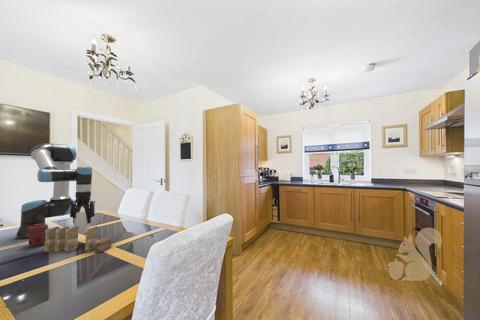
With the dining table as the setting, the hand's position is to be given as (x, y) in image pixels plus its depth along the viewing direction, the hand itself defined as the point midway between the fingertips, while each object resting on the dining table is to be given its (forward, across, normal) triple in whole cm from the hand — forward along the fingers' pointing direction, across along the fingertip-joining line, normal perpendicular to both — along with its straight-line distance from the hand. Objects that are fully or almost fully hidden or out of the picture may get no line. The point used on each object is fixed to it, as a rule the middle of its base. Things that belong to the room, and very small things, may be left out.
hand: (81, 228), depth 118 cm
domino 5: (+8, +14, -10) cm, 19 cm away
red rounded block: (+9, -23, -4) cm, 25 cm away
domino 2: (+9, -3, -10) cm, 14 cm away
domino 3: (+8, +3, -10) cm, 14 cm away
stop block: (+8, +20, -10) cm, 24 cm away
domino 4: (+2, 0, 0) cm, 2 cm away
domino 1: (+9, -8, -10) cm, 16 cm away
